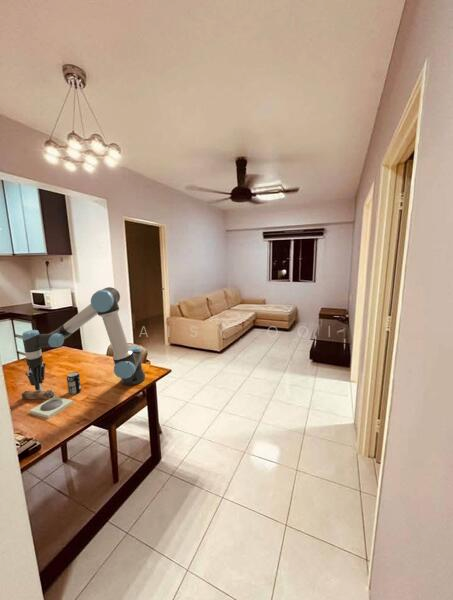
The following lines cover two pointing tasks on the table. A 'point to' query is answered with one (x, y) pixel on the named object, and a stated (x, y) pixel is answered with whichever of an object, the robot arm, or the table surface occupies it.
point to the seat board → (51, 407)
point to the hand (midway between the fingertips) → (39, 393)
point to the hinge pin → (51, 394)
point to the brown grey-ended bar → (36, 394)
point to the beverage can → (73, 383)
